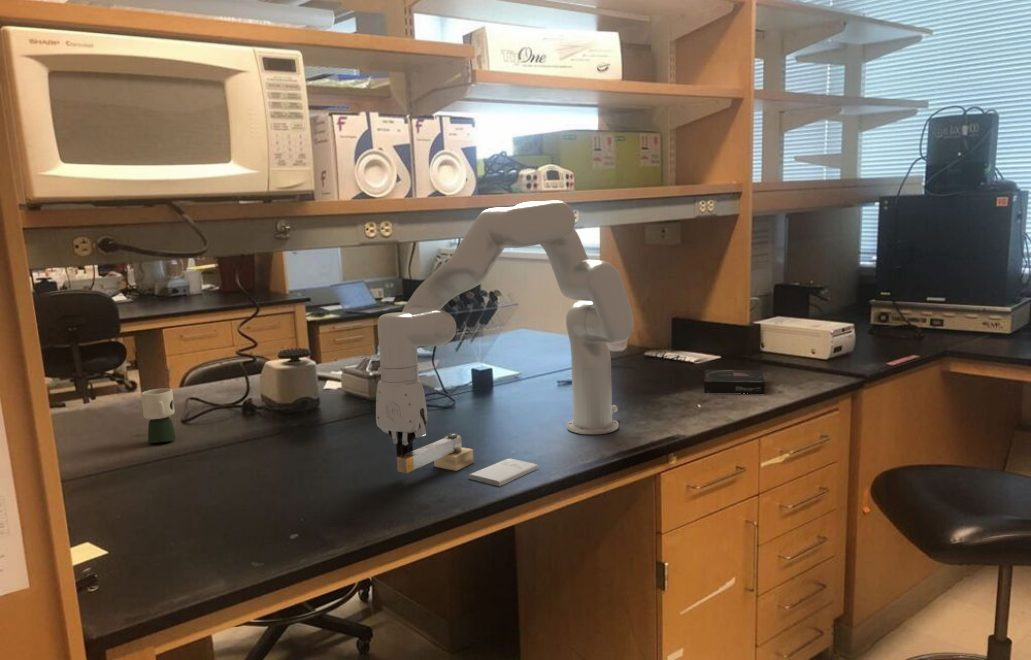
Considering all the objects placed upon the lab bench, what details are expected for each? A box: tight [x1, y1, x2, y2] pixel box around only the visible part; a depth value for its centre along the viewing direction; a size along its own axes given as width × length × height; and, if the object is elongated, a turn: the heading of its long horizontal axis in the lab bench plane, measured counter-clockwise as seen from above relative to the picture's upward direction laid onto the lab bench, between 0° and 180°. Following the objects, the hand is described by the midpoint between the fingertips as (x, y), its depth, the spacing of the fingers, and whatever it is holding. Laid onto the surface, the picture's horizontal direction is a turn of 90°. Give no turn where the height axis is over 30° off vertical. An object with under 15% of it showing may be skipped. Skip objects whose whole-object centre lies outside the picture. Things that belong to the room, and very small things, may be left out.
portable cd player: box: [703, 369, 766, 395], centre depth 224 cm, size 16×17×4 cm
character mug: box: [140, 387, 177, 444], centre depth 190 cm, size 11×7×13 cm, turn 34°
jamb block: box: [433, 447, 475, 471], centre depth 165 cm, size 6×6×3 cm
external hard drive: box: [468, 457, 539, 487], centre depth 158 cm, size 2×8×12 cm
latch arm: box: [396, 432, 462, 474], centre depth 158 cm, size 18×4×4 cm, turn 146°
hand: (405, 461), depth 157 cm, fingers closed
